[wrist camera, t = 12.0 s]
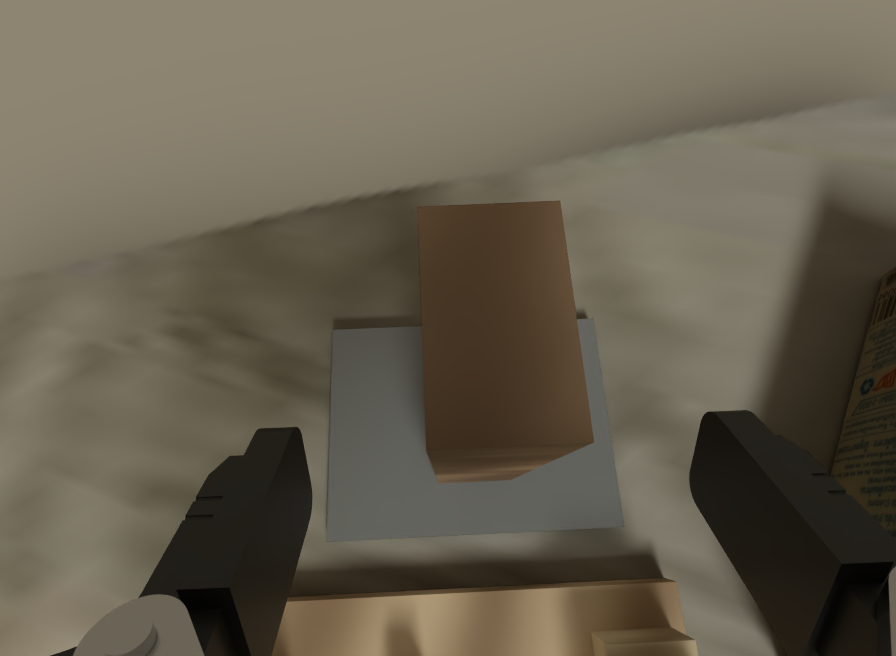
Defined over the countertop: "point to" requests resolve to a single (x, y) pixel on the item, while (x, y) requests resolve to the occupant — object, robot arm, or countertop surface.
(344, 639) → the oak rack
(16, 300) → the countertop surface
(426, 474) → the grey mat
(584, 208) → the countertop surface
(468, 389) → the brown wooden block
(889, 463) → the beverage carton
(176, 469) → the countertop surface
